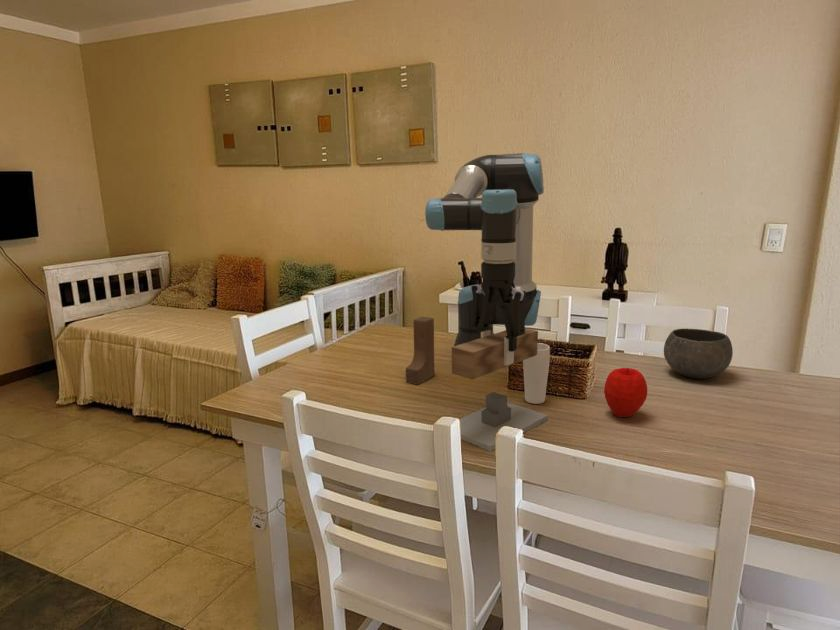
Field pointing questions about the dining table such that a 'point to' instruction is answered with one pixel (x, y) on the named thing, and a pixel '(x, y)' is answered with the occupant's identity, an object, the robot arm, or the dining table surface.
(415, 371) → the wooden block
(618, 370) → the apple
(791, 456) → the dining table surface
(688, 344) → the bowl
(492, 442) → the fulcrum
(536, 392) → the drinking glass
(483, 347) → the beam
